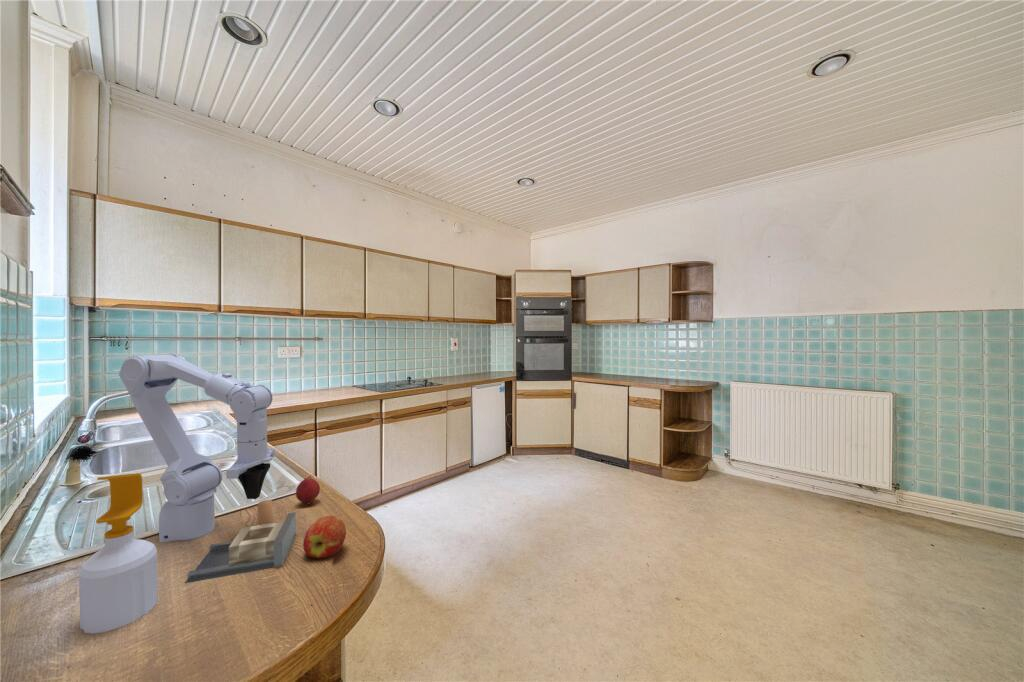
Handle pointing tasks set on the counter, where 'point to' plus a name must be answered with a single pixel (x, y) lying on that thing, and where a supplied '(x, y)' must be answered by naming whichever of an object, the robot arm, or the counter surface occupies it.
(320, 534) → the apple
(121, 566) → the soap bottle
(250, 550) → the sliding block
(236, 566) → the slide base
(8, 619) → the counter surface
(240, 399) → the robot arm
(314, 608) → the counter surface
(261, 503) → the dowel
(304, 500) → the onion
